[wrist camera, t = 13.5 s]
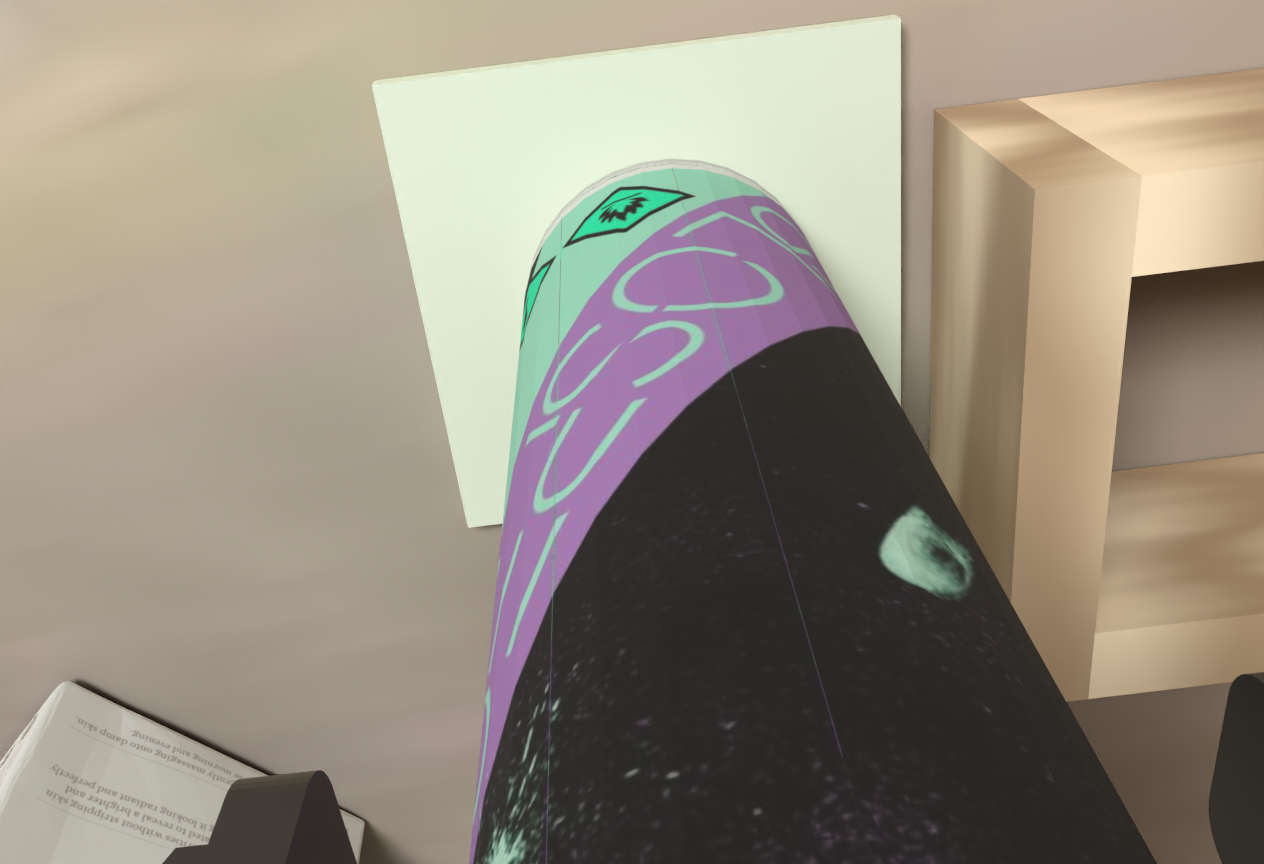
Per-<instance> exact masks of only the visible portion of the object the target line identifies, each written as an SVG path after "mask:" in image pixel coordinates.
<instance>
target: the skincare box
mask: <svg viewBox="0 0 1264 864" xmlns="http://www.w3.org/2000/svg"><path fill="white" fill-rule="evenodd" d="M262 776H268V775H266V774H264V773H262V772H260V771H258V770H255V769H253V768H251V767H249V766H247V765H245V764H243V763H241V762H239V761H236V760H234V759H232V758H230V757H228V756H226V755H224V754H222V753H220V752H217V751H215V750H213V749H211V748H209V747H207V746H205V745H203V744H200V743H198V742H196V741H194V740H192V739H190V738H188V737H186V736H184V735H181V734H179V733H177V732H175V731H173V730H171V729H169V728H167V727H165V726H162V725H160V724H158V723H156V722H154V721H152V720H150V719H148V718H146V717H143V716H141V715H139V714H137V713H135V712H133V711H130V710H128V709H126V708H124V707H122V706H119V705H117V704H115V703H113V702H111V701H109V700H107V699H105V698H103V697H101V696H99V695H97V694H95V693H93V692H91V691H89V690H87V689H85V688H83V687H81V686H79V685H77V684H75V683H73V682H70V681H64V682H62V683H61V684H60V685H59V686H58V687H57V688H56V689H55V690H54V691H53V692H52V694H51V695H50V696H49V698H48V699H47V700H46V702H45V703H44V704H43V706H42V707H41V708H40V710H39V711H38V712H37V714H36V715H35V716H34V718H33V719H32V720H31V721H30V723H29V724H28V725H27V727H26V728H25V729H24V731H23V732H22V733H21V735H20V736H19V737H18V739H17V740H16V741H15V743H14V744H13V745H12V747H11V748H10V749H9V751H8V752H7V753H6V755H5V756H4V757H3V759H2V760H1V762H0V864H162V863H163V862H164V861H165V860H166V859H167V857H168V856H169V855H170V854H171V853H172V851H173V850H174V849H175V848H178V847H187V846H197V845H206V844H208V842H209V840H210V837H211V834H212V831H213V829H214V826H215V823H216V821H217V818H218V815H219V812H220V810H221V807H222V804H223V801H224V799H225V796H226V794H227V792H228V790H229V788H230V786H231V785H232V784H233V783H234V782H235V781H236V780H238V779H244V778H253V777H262ZM340 812H341V815H342V818H343V821H344V824H345V827H346V831H347V834H348V837H349V840H350V843H351V846H352V849H353V852H354V855H355V859H356V862H357V864H359V858H360V852H361V845H362V839H363V833H364V828H365V822H364V821H363V820H361V819H359V818H357V817H355V816H353V815H351V814H349V813H347V812H345V811H343V810H341V809H340Z"/></svg>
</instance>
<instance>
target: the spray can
mask: <svg viewBox="0 0 1264 864" xmlns="http://www.w3.org/2000/svg"><path fill="white" fill-rule="evenodd" d="M469 864H1157V863H1156V861H1155V859H1154V858H1153V856H1152V854H1151V852H1150V850H1149V849H1148V847H1147V845H1146V843H1145V841H1144V840H1143V838H1142V836H1141V834H1140V833H1139V831H1138V829H1137V827H1136V825H1135V824H1134V822H1133V820H1132V818H1131V816H1130V815H1129V813H1128V811H1127V809H1126V808H1125V806H1124V804H1123V802H1122V800H1121V799H1120V797H1119V795H1118V793H1117V792H1116V790H1115V788H1114V786H1113V784H1112V783H1111V781H1110V779H1109V777H1108V775H1107V774H1106V772H1105V770H1104V768H1103V767H1102V765H1101V763H1100V761H1099V759H1098V758H1097V756H1096V754H1095V752H1094V751H1093V749H1092V747H1091V745H1090V743H1089V742H1088V740H1087V738H1086V736H1085V734H1084V733H1083V731H1082V729H1081V727H1080V726H1079V724H1078V722H1077V720H1076V718H1075V717H1074V715H1073V713H1072V711H1071V709H1070V708H1069V706H1068V704H1067V702H1066V701H1065V699H1064V697H1063V695H1062V693H1061V692H1060V690H1059V688H1058V686H1057V685H1056V683H1055V681H1054V679H1053V677H1052V676H1051V674H1050V672H1049V670H1048V668H1047V667H1046V665H1045V663H1044V661H1043V660H1042V658H1041V656H1040V654H1039V652H1038V651H1037V649H1036V647H1035V645H1034V643H1033V642H1032V640H1031V638H1030V636H1029V635H1028V633H1027V631H1026V629H1025V627H1024V626H1023V624H1022V622H1021V620H1020V619H1019V617H1018V615H1017V613H1016V611H1015V610H1014V608H1013V606H1012V604H1011V602H1010V601H1009V599H1008V597H1007V595H1006V594H1005V592H1004V590H1003V588H1002V586H1001V585H1000V583H999V581H998V579H997V577H996V576H995V574H994V572H993V570H992V569H991V567H990V565H989V563H988V561H987V560H986V558H985V556H984V554H983V553H982V551H981V549H980V547H979V545H978V544H977V542H976V540H975V538H974V536H973V535H972V533H971V531H970V529H969V528H968V526H967V524H966V522H965V520H964V519H963V517H962V515H961V513H960V511H959V510H958V508H957V506H956V504H955V503H954V501H953V499H952V497H951V495H950V494H949V492H948V490H947V488H946V487H945V485H944V483H943V481H942V479H941V478H940V476H939V474H938V472H937V470H936V469H935V467H934V465H933V463H932V462H931V460H930V458H929V456H928V454H927V453H926V451H925V449H924V447H923V445H922V444H921V442H920V440H919V438H918V437H917V435H916V433H915V431H914V429H913V428H912V426H911V424H910V422H909V421H908V419H907V417H906V415H905V413H904V412H903V410H902V408H901V406H900V404H899V403H898V401H897V399H896V397H895V396H894V394H893V392H892V390H891V388H890V387H889V385H888V383H887V381H886V379H885V378H884V376H883V374H882V372H881V371H880V369H879V367H878V365H877V363H876V362H875V360H874V358H873V356H872V355H871V353H870V351H869V349H868V347H867V346H866V344H865V342H864V340H863V338H862V337H861V335H860V333H859V331H858V330H857V328H856V326H855V324H854V322H853V321H852V319H851V317H850V315H849V313H848V312H847V310H846V308H845V306H844V305H843V303H842V301H841V299H840V297H839V296H838V294H837V292H836V290H835V289H834V287H833V285H832V283H831V281H830V280H829V278H828V276H827V274H826V272H825V271H824V269H823V267H822V265H821V264H820V262H819V260H818V258H817V256H816V255H815V253H814V251H813V249H812V248H811V246H810V244H809V242H808V240H807V239H806V237H805V235H804V233H803V231H802V230H801V228H800V226H799V225H798V224H797V222H796V221H795V220H794V219H793V218H792V216H791V215H790V214H789V213H788V212H787V210H786V209H785V208H784V207H783V206H782V204H781V203H780V202H779V201H778V200H777V198H775V197H774V196H773V195H772V194H770V193H769V192H768V191H767V190H765V189H764V188H763V187H761V186H760V185H759V184H758V183H756V182H755V181H754V180H752V179H750V178H748V177H746V176H743V175H741V174H739V173H737V172H735V171H733V170H731V169H729V168H727V167H723V166H719V165H715V164H711V163H707V162H703V161H700V160H683V159H664V160H657V161H650V162H643V163H638V164H635V165H632V166H629V167H626V168H624V169H621V170H618V171H615V172H612V173H610V174H608V175H606V176H605V177H603V178H601V179H600V180H598V181H596V182H594V183H593V184H591V185H589V186H588V187H586V188H585V189H583V190H582V191H581V192H580V193H579V194H578V195H577V196H576V197H574V198H573V199H572V200H571V201H570V202H569V203H568V204H567V205H565V206H564V207H563V208H562V210H561V211H560V212H559V214H558V215H557V216H556V218H555V219H554V220H553V222H552V223H551V224H550V226H549V227H548V228H547V230H546V231H545V233H544V236H543V238H542V240H541V242H540V244H539V246H538V248H537V250H536V252H535V255H534V258H533V262H532V265H531V269H530V273H529V277H528V281H527V286H526V290H525V299H524V309H523V319H522V329H521V340H520V350H519V360H518V370H517V381H516V391H515V401H514V411H513V422H512V432H511V442H510V452H509V463H508V473H507V483H506V493H505V503H504V514H503V524H502V534H501V544H500V555H499V565H498V575H497V585H496V596H495V606H494V616H493V626H492V637H491V647H490V657H489V667H488V677H487V688H486V698H485V708H484V718H483V729H482V739H481V749H480V759H479V770H478V780H477V790H476V800H475V811H474V821H473V831H472V841H471V851H470V862H469Z"/></svg>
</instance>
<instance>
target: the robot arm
mask: <svg viewBox="0 0 1264 864" xmlns="http://www.w3.org/2000/svg"><path fill="white" fill-rule="evenodd" d="M1209 818H1210V825H1211V830H1212V835H1213V839H1214V842H1215V845H1216V849H1217V851H1218V854H1219V857H1220V859H1221V861H1222V864H1264V672H1259V673H1250V674H1242V675H1240V676H1238V677H1236V679H1235V680H1234V681H1233V683H1232V685H1231V687H1230V691H1229V694H1228V700H1227V705H1226V710H1225V716H1224V721H1223V726H1222V732H1221V737H1220V742H1219V748H1218V753H1217V758H1216V764H1215V769H1214V774H1213V780H1212V785H1211V790H1210V797H1209ZM162 864H357V862H356V859H355V855H354V852H353V849H352V846H351V843H350V840H349V837H348V834H347V831H346V827H345V824H344V821H343V818H342V815H341V812H340V809H339V806H338V803H337V800H336V796H335V793H334V790H333V787H332V784H331V782H330V780H329V778H328V776H327V775H326V774H325V772H323V771H321V770H320V771H309V772H300V773H290V774H281V775H272V776H262V777H253V778H244V779H238V780H236V781H235V782H234V783H233V784H232V785H231V786H230V788H229V790H228V792H227V794H226V796H225V799H224V801H223V804H222V807H221V810H220V812H219V815H218V818H217V821H216V823H215V826H214V829H213V831H212V834H211V837H210V840H209V842H208V844H206V845H197V846H187V847H178V848H175V849H174V850H173V851H172V853H171V854H170V855H169V856H168V857H167V859H166V860H165V861H164V862H163V863H162Z"/></svg>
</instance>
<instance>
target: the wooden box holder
mask: <svg viewBox="0 0 1264 864" xmlns="http://www.w3.org/2000/svg"><path fill="white" fill-rule="evenodd" d="M1256 261H1264V68H1260V69H1252V70H1244V71H1236V72H1228V73H1220V74H1212V75H1204V76H1196V77H1189V78H1181V79H1173V80H1165V81H1157V82H1149V83H1141V84H1133V85H1125V86H1117V87H1109V88H1101V89H1093V90H1085V91H1077V92H1069V93H1061V94H1053V95H1045V96H1037V97H1029V98H1021V99H1013V100H1005V101H997V102H990V103H982V104H974V105H966V106H958V107H950V108H942V109H934V164H933V237H932V310H931V382H930V455H929V458H930V460H931V462H932V463H933V465H934V467H935V469H936V470H937V472H938V474H939V476H940V478H941V479H942V481H943V483H944V485H945V487H946V488H947V490H948V492H949V494H950V495H951V497H952V499H953V501H954V503H955V504H956V506H957V508H958V510H959V511H960V513H961V515H962V517H963V519H964V520H965V522H966V524H967V526H968V528H969V529H970V531H971V533H972V535H973V536H974V538H975V540H976V542H977V544H978V545H979V547H980V549H981V551H982V553H983V554H984V556H985V558H986V560H987V561H988V563H989V565H990V567H991V569H992V570H993V572H994V574H995V576H996V577H997V579H998V581H999V583H1000V585H1001V586H1002V588H1003V590H1004V592H1005V594H1006V595H1007V597H1008V599H1009V601H1010V602H1011V604H1012V606H1013V608H1014V610H1015V611H1016V613H1017V615H1018V617H1019V619H1020V620H1021V622H1022V624H1023V626H1024V627H1025V629H1026V631H1027V633H1028V635H1029V636H1030V638H1031V640H1032V642H1033V643H1034V645H1035V647H1036V649H1037V651H1038V652H1039V654H1040V656H1041V658H1042V660H1043V661H1044V663H1045V665H1046V667H1047V668H1048V670H1049V672H1050V674H1051V676H1052V677H1053V679H1054V681H1055V683H1056V685H1057V686H1058V688H1059V690H1060V692H1061V693H1062V695H1063V697H1064V699H1065V701H1066V702H1069V701H1077V700H1085V699H1094V698H1102V697H1111V696H1119V695H1127V694H1136V693H1144V692H1153V691H1161V690H1169V689H1178V688H1186V687H1195V686H1203V685H1211V684H1220V683H1228V682H1233V681H1234V680H1235V679H1236V677H1238V676H1240V675H1242V674H1250V673H1259V672H1264V453H1259V454H1251V455H1243V456H1235V457H1227V458H1218V459H1210V460H1202V461H1194V462H1185V463H1177V464H1169V465H1161V466H1152V467H1144V468H1136V469H1128V470H1120V471H1112V463H1113V453H1114V444H1115V434H1116V424H1117V414H1118V405H1119V395H1120V385H1121V376H1122V366H1123V356H1124V346H1125V337H1126V327H1127V317H1128V308H1129V298H1130V288H1131V278H1132V277H1135V276H1143V275H1151V274H1159V273H1167V272H1176V271H1184V270H1192V269H1200V268H1208V267H1216V266H1224V265H1232V264H1240V263H1248V262H1256Z"/></svg>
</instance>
